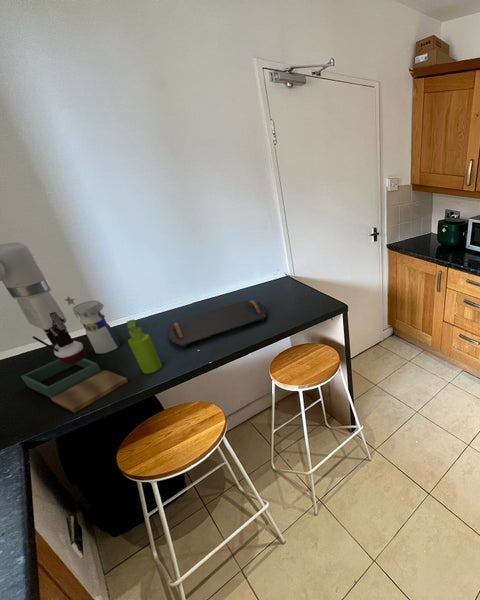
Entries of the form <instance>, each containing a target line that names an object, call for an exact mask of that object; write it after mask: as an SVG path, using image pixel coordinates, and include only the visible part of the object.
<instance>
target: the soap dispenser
mask: <svg viewBox="0 0 480 600" xmlns="http://www.w3.org/2000/svg"><path fill="white" fill-rule="evenodd" d="M126 325H127V329H128V334H129V337H130V338H129V339H128V340H127V343H128V345H129V347H130V349H131V351H132V353H133V355H134V358H135V360H136V362H137V364H138V365H139V366H138V367H139V368H140V370H141V372H142V373H143V374H145V375H147V374H152V373H156V372H157V371H159V370H160V369H161V368H163V363H162V361H161V359H160V357H159V354H158V352H157V350H156V348H155V346H154V343H153V341H152V339H151V336H150V334H148V333H144V332H143V330H142V328H141V327H140V326H137V325H136V321H135V319H130V320H127V321H126Z"/></svg>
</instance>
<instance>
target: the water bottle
mask: <svg viewBox="0 0 480 600" xmlns="http://www.w3.org/2000/svg"><path fill="white" fill-rule="evenodd" d="M64 301H65V302H67V303H68V305H69V306H70V305H74V306H73V307H72V311H73V314H74V316H75V318H78V319H79V318H80V321H79V322H80V323H79V324H81V325H83V328H84V329H85V335H86V336H87V339H88V340H89V342H90V344H91V347H92V349H93V350H94V353H95V354H107V353H109V352H113V351H114V350H116V349H118V348H119V347H120V345H121V343H120V342H119V339H118V338H117V336H116V334H115V333H114V331H113V329H112V327H111V326H110V324H109V323H107V321H106V319H105V318H106V317H105V314H103V313H101V311H102V309H103V308H104V306H105V305H104V304H103V303H102V302H100V301H99V300H88V301H83V302H81V303H78V304H75V302H74V301H75V298H71V297H70V296H67V298H65V299H64Z"/></svg>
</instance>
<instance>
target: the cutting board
mask: <svg viewBox="0 0 480 600" xmlns="http://www.w3.org/2000/svg"><path fill="white" fill-rule="evenodd" d="M101 371H102V372H100V373H98V374H96V375H94V376H92V377H91V378H89V379H87V380H85V381H83V382H81V383H79V384H77V385H75V386H73V387H72V388H70V389H68V390H66V391H64V392H62V393H60V394H58V395H56V396H54V397H53V398H50V400H51V402H52V403H53V404H55V405H58V406H59V407H62V408H64V409H66V410H68V411H70V412H72V413H74V414H76V413H78V412H79V411H80V410H82V409H85V408H86V407H87V406H89V405H91V404H92V403H94V402H95V401H98V400H99V399H101V398H103V397H104V396H107V394H110V393H111V392H113V391H114V390H116V389H119V388H121V386H124V385H125V384H127V383H128V382H129V380H128V378H127V377H125V376H122V375H119V374H117V373H115V372H112V371H110V370H107V369H104V370H101Z"/></svg>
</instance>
